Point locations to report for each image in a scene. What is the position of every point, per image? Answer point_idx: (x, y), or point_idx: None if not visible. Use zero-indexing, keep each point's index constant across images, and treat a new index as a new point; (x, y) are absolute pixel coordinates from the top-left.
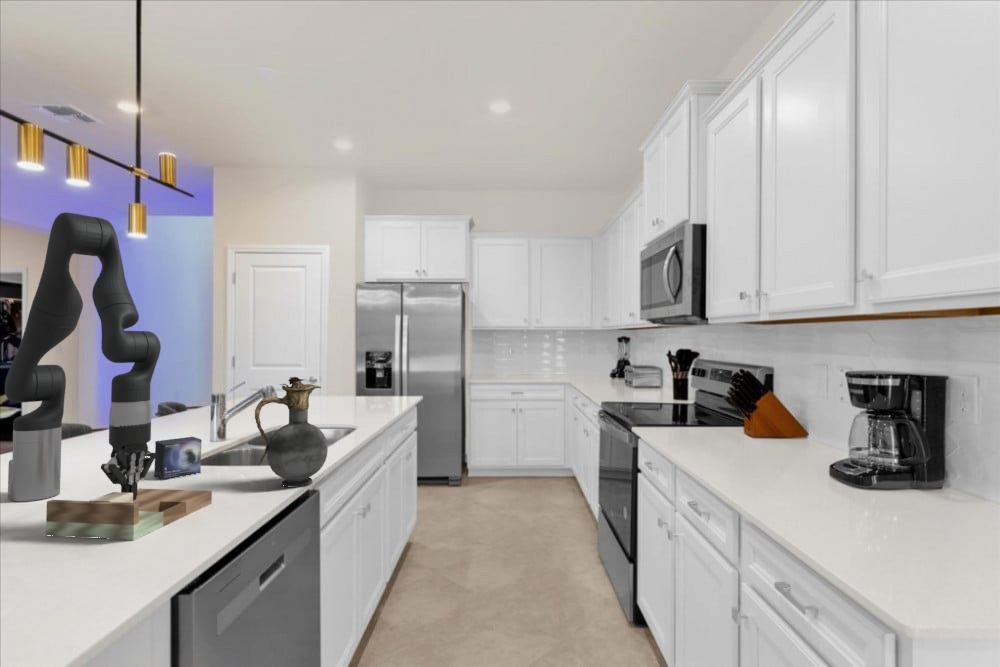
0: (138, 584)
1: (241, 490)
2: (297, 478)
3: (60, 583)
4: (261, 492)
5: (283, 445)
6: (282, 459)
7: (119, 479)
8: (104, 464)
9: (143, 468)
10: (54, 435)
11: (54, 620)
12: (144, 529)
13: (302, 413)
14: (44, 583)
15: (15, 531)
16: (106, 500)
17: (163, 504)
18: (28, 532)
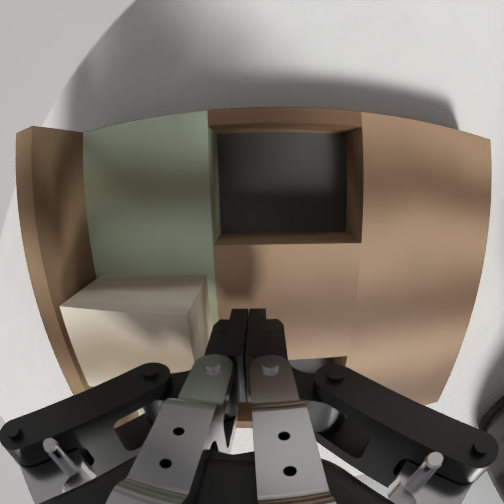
0: None
1: (499, 359)
2: None
3: (18, 373)
4: (472, 403)
5: (501, 489)
6: (490, 470)
7: (126, 430)
8: (10, 454)
9: (341, 453)
10: None
11: (8, 406)
12: None
13: None
14: (8, 355)
15: (128, 19)
16: (87, 370)
17: (342, 358)
18: (120, 56)
